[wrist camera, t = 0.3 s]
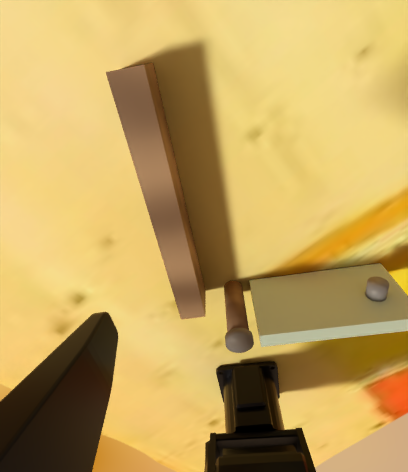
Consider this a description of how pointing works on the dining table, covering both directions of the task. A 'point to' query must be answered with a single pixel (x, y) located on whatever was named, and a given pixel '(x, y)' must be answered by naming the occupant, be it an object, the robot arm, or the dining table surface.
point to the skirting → (159, 181)
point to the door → (328, 305)
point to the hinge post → (236, 319)
